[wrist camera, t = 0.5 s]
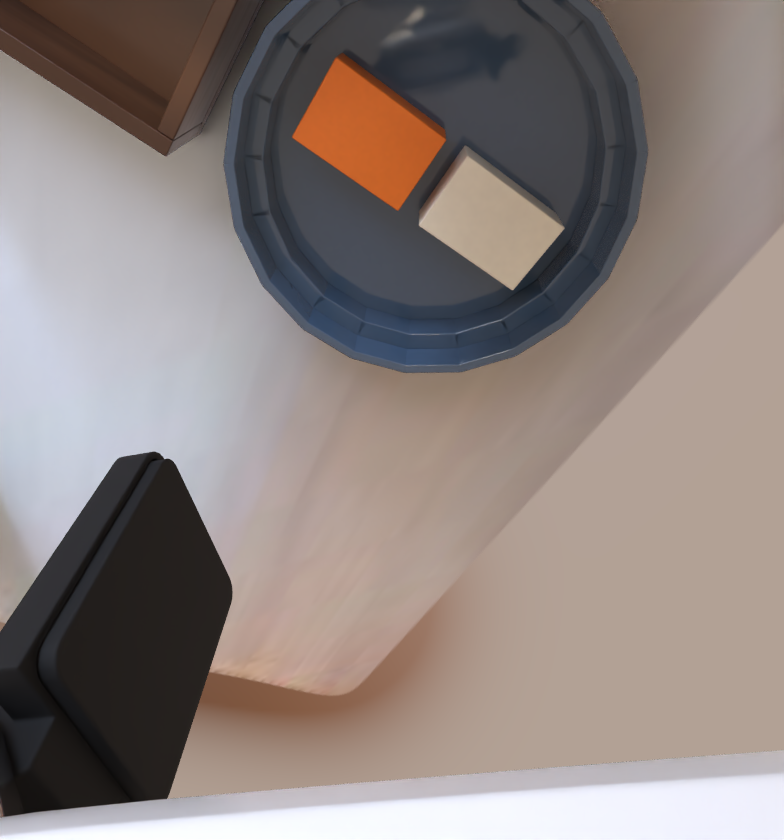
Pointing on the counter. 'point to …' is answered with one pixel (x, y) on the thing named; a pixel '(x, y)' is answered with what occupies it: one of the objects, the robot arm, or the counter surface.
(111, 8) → the holder
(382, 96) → the orange rectangular block
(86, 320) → the counter surface
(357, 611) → the counter surface
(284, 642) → the counter surface
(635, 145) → the bowl
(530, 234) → the cream rectangular block
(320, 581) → the counter surface
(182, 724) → the robot arm
